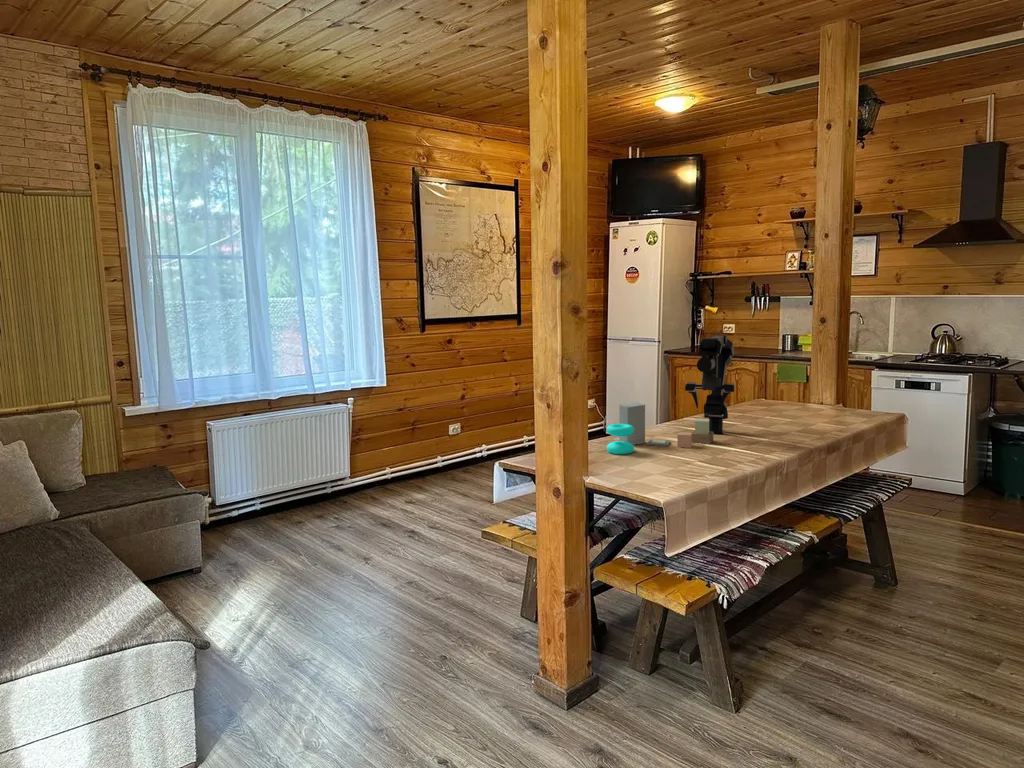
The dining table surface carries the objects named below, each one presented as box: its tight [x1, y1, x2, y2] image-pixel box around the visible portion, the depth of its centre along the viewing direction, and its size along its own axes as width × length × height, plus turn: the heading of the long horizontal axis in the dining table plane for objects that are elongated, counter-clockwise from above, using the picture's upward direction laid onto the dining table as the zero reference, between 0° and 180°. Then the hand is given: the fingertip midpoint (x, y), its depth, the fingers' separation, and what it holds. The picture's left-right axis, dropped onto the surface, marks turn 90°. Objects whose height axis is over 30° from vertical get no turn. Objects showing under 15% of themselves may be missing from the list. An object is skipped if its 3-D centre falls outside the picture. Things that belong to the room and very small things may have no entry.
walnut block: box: [691, 430, 715, 445], centre depth 276 cm, size 7×7×4 cm
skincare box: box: [618, 401, 646, 446], centre depth 275 cm, size 8×7×16 cm
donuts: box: [606, 423, 635, 455], centre depth 262 cm, size 10×10×10 cm
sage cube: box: [694, 418, 709, 434], centre depth 276 cm, size 5×5×5 cm
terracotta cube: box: [676, 431, 693, 449], centre depth 269 cm, size 5×5×5 cm
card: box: [646, 439, 671, 447], centre depth 275 cm, size 8×8×1 cm
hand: (709, 408), depth 282 cm, fingers open, 9 cm apart
